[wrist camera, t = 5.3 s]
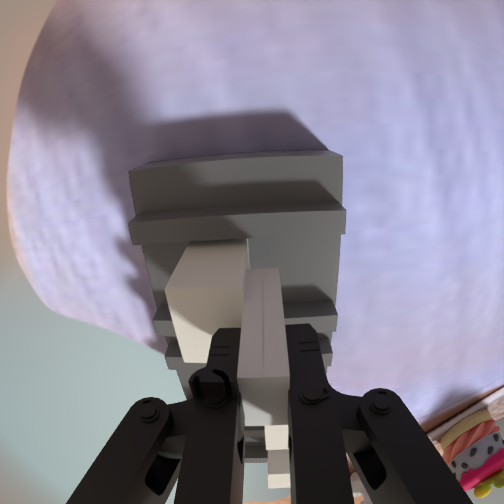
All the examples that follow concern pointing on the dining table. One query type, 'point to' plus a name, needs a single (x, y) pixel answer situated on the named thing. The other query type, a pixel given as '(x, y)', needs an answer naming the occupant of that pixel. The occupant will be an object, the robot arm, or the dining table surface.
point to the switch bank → (246, 235)
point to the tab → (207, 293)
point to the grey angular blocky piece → (359, 489)
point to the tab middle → (276, 437)
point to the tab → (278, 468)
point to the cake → (475, 453)
